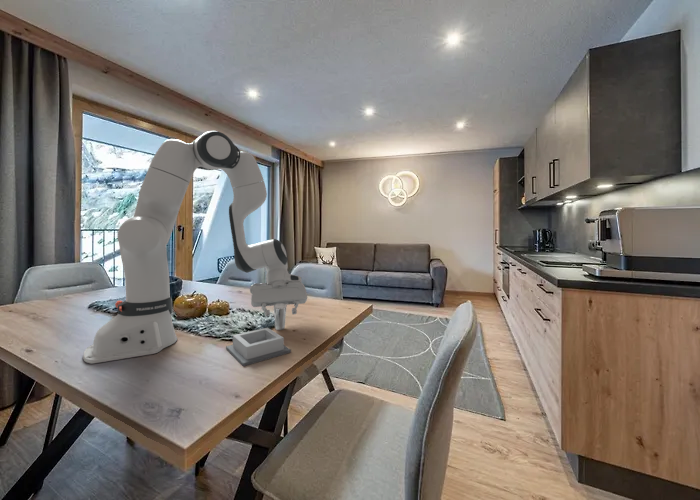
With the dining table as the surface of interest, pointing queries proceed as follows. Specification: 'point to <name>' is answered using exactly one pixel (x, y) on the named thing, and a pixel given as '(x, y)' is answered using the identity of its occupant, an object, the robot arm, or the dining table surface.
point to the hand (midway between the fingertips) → (281, 314)
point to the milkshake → (280, 315)
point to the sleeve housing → (257, 346)
